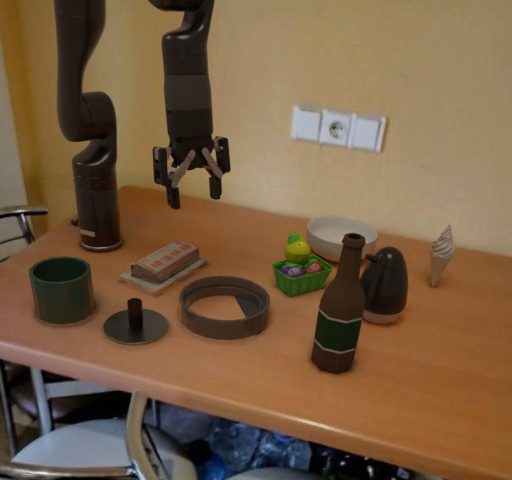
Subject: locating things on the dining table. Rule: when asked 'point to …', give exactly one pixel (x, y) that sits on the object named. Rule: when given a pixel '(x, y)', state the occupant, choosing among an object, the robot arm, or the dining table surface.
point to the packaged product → (164, 266)
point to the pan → (245, 292)
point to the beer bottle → (341, 311)
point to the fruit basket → (300, 268)
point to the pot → (62, 290)
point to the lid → (135, 325)
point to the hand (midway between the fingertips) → (195, 203)
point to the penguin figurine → (385, 285)
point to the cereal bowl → (337, 235)
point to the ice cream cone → (441, 254)
